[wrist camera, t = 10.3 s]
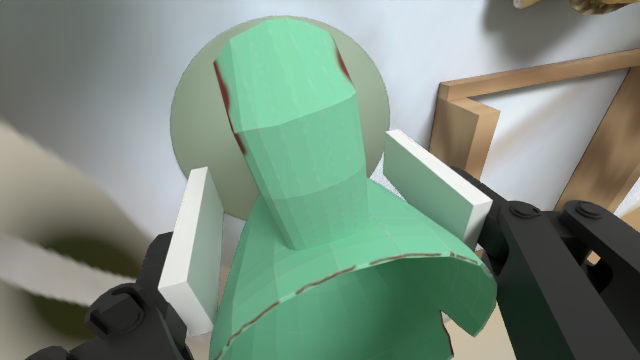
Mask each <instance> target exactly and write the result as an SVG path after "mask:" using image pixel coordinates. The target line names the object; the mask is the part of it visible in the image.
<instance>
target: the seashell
mask: <svg viewBox="0 0 640 360" xmlns="http://www.w3.org/2000/svg"><path fill="white" fill-rule="evenodd" d="M538 1H540V0H513V5H514V6H515V7H516V8H519V9H521V8H525V7H528V6H530V5H532V4H533V3H535V2H538ZM636 2H640V0H571V1H570V4H571V7H572V9H575V10H577V11H578V12H580V13H581V14H582V15H592V14H606V13H609V12H612V11H615V10H617V9H619V8H621V7H624V6H626V5H628V4H631V3H636Z"/></svg>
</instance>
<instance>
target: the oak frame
mask: <svg viewBox="0 0 640 360" xmlns="http://www.w3.org/2000/svg"><path fill="white" fill-rule="evenodd" d="M628 67H631V69H630V71H629V72H628V74H627V76H626V78H625V80H624V82H623V83H622V85H621V87H620V89H619V91H618V93H617V94H616V96H615V98H614V100H613V102H612V104H611V105H610V107H609V109H608V111H607V113H606V115H605V116H604V118H603V120H602V122H601V124H600V126H599V128H598V129H597V131H596V133H595V135H594V137H593V139H592V140H591V142H590V144H589V146H588V148H587V150H586V151H585V153H584V155H583V157H582V159H581V161H580V162H579V164H578V166H577V168H576V170H575V172H574V173H573V175H572V177H571V179H570V181H569V183H568V184H567V186H566V188H565V190H564V192H563V194H562V196H561V197H560V199H559V201H558V203H557V205H556V207H555V208H554V210H553V211H561V209H562V207H563V205H564V204H565V203H566V202H567V201H570V200H583V201H588V202H592V203H594V204H597V205H599V206H601V207H603V208H605V209H607V210H608V211H610V212H611V213H614V212H615V210H616V209H617V207H618V206H619V205H620V203H621V202H622V200H623V199H624V198H625V196H626V195H627V194H628V192H629V191H630V189H631V188H632V187H633V185H634V184H635V182H636V181H637V180H638V178H639V177H640V49H634V50H628V51H622V52H617V53H611V54H605V55H599V56H593V57H587V58H582V59H576V60H570V61H564V62H558V63H552V64H547V65H541V66H535V67H529V68H523V69H517V70H512V71H506V72H500V73H494V74H488V75H482V76H477V77H471V78H465V79H459V80H453V81H447V82H442V83H440V87H439V93H438V99H437V105H436V111H435V117H434V123H433V129H432V135H431V141H430V147H429V153H431V154H432V155H433V156H435V157H436V158H437V159H439V160H440V161H441V162H443V163H444V164H445V165H447V166H448V167H450V166H455V167H457V168H460V169H462V170H465V171H466V172H468V173H469V174H470V175H472V176H473V178H476V179H477V180H480V176H481V173H482V170H483V167H484V164H485V160H486V157H487V154H488V151H489V147H490V144H491V141H492V138H493V134H494V131H495V128H496V125H497V121H498V118H499V115H500V112H501V111H499V110H497V109H494V108H492V107H489V106H486V105H484V104H481V103H479V102H476V101H474V100H471V99H468V98H466V97H471V96H477V95H482V94H487V93H493V92H498V91H504V90H509V89H514V88H520V87H525V86H531V85H536V84H541V83H547V82H552V81H557V80H563V79H568V78H574V77H579V76H584V75H590V74H595V73H601V72H606V71H611V70H617V69H622V68H628ZM483 251H484V249H483V250H479V251H476V252H474V253H475V255H476V256H477V257H478V258H479V259H480V258H481V256H482V253H483Z"/></svg>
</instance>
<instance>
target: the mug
mask: <svg viewBox="0 0 640 360" xmlns="http://www.w3.org/2000/svg"><path fill="white" fill-rule="evenodd" d="M213 65H214V69H215V73H216V76H217V80H218V83H219V87H220V91H221V94H222V98H223V101H224V105H225V109H226V112H227V116H228V120H229V123H230V127H231V130H232V132H233V135H234V137H235V139H236V141H237V143H238V146H239V148H240V150H241V152H242V154H243V156H244V159H245V161H246V163H247V165H248V167H249V170H250V172H251V174H252V176H253V178H254V180H255V183H256V185H257V187H258V189H259V191H260V195H259V197H258V198H257V200H256V202H255V204H254V206H253V208H252V211H251V213H250V215H249V217H248V220H247V222H246V224H245V226H244V229H243V231H242V233H241V237H240V240H239V243H238V246H237V250H236V253H235V256H234V259H233V262H232V266H231V269H230V272H229V276H228V279H227V283H226V286H225V290H224V294H223V297H222V301H221V304H220V307H219V311H218V314H217V318H216V321H215V324H214V327H213V332H212V337H211V343H210V353H209V360H450V359H451V358H453V357H454V353H453V349H452V345H451V340H450V336H449V334H448V332H447V330H446V328H445V326H444V324H443V319H442V313H441V311H442V312H444V313H445V314H446V315H448V316H449V317H450V318H451V319H452V320H453V321H454V322H455V323H456V324H457V325H458V326H459V327H461V328H462V329H464V330H465V331H466V332H467V333H469V334H470V335H471V336H473V337H476V336H477V334H478V333H479V332H480V331H481V330H482V329H483V328H484V326H485V324H486V323H487V321H488V319H489V317H490V316H491V314H492V312H493V310H494V309H495V306H496V297H497V285H498V282H497V281H496V279H495V278H494V276H493V275H492V274H491V272H490V271H489V270H488V268H487V267H486V265H485V264H484V263H483V262H482V261H481V260H480V259H479V258H478V257H477V256H476V255H475V253H474V252H473V251H472V250H471V249H470V248H469V247H468V246H467V245H465V244H464V243H463V242H462V241H461V240H460V239H458V238H457V237H456V236H454V235H453V234H451V233H450V232H448V231H447V230H445V229H444V228H443V227H441V226H440V225H438V224H437V223H436V222H434V221H433V220H431V219H430V218H428V217H427V216H426V215H424V214H423V213H421V212H420V211H419V210H417V209H416V208H414V207H413V206H412V205H410V204H409V203H407V202H406V201H404V200H403V199H401V198H400V197H398V196H397V195H395V194H394V193H392V192H391V191H389V190H388V189H386V188H385V187H384V186H382V185H381V184H379V183H377V182H375V181H373V180H371V179H369V178H367V177H366V161H365V153H364V146H363V139H362V131H361V124H360V117H359V110H358V102H357V95H356V90H355V87H354V85H353V83H352V80H351V78H350V76H349V73H348V71H347V69H346V66H345V64H344V62H343V60H342V57H341V55H340V53H339V50H338V48H337V46H336V43H335V41H334V39H333V37H332V35H331V33H329V32H327V31H325V30H323V29H321V28H319V27H316V26H314V25H311V24H309V23H306V22H302V21H298V20H294V19H290V18H279V19H272V20H266V21H264V22H262V23H260V24H258V25H256V26H254V27H252V28H250V29H248V30H246V31H244V32H242V33H240V34H239V35H237V36H235V37H233V38H231V39H229V41H228V42H227V43H226V45H225V46H224V47H223V49H222V50H221V51H220V53H219V54H218V56H217V57H216V59H215V60H214V62H213Z"/></svg>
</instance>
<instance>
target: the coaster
mask: <svg viewBox="0 0 640 360" xmlns="http://www.w3.org/2000/svg"><path fill="white" fill-rule="evenodd" d="M279 18H290V19H294V20H298V21H302V22H306V23H309V24H311V25H314V26H316V27H319V28H321V29H323V30H325V31H327V32H329V33H331V35H332V37H333V39H334V41H335V43H336V46H337V48H338V50H339V53H340V55H341V57H342V60H343V62H344V64H345V66H346V69H347V71H348V73H349V76H350V78H351V80H352V83H353V85H354V87H355V90H356V95H357V102H358V110H359V117H360V124H361V131H362V139H363V146H364V153H365V161H366V177H367V178H370V176H371V175H372V173H373V172H374V170H375V169H376V167H377V165H378V163H379V161H380V159H381V157H382V154H383V152H384V146H385V132H386V131H389V126H390V107H389V100H388V95H387V91H386V87H385V84H384V82H383V79H382V77H381V75H380V72H379V70H378V69H377V67H376V65H375V64H374V62H373V61H372V59H371V58H370V57H369V56H368V54H367V53H366V52H365V51H364V49H363V48H362V47H361V46H359V45H358V44H357V43H356V42H355V41H354V40H353V39H352V38H350V37H349V36H347V35H346V34H344V33H343V32H341V31H340V30H338V29H336V28H334V27H331V26H329V25H327V24H325V23H323V22H319V21H316V20H312V19H308V18H303V17H295V16H268V17H263V18H257V19H252V20H249V21H247V22H244V23H241V24H238V25H236V26H234V27H232V28H230V29H228V30H226V31H225V32H223V33H221V34H219V35H218V36H217V37H216V38H214V39H213V40H212V41H210V42H209V43H208V44H207V45H206V46H205V47H204V48H203V49H202V50H201V51H200V52H199V53H198V54H197V55H196V56H195V57H194V58H193V60H192V61H191V63H190V64H189V66H188V67H187V69H186V70H185V72H184V73H183V75H182V77H181V79H180V82H179V84H178V86H177V88H176V91H175V95H174V98H173V102H172V107H171V116H170V133H171V140H172V145H173V150H174V153H175V156H176V158H177V161H178V164H179V166H180V167H181V169H182V171H183V173H184V175H185V177H186V178H187V179H189V176H190V172H191V170H193V169H198V168H203V167H208V169H209V172H210V174H211V177H212V180H213V182H214V185H215V187H216V190H217V193H218V195H219V198H220V201H221V203H222V206H223V208H224V212H226V213H228V214H230V215H233V216H235V217H238V218H241V219H244V220H248V217H249V215H250V213H251V211H252V208H253V206H254V204H255V202H256V200H257V198H258V197H259V195H260V191H259V189H258V187H257V185H256V183H255V180H254V178H253V176H252V174H251V172H250V170H249V167H248V165H247V163H246V161H245V159H244V156H243V154H242V152H241V150H240V148H239V146H238V143H237V141H236V139H235V137H234V135H233V132H232V130H231V127H230V123H229V120H228V116H227V112H226V109H225V105H224V101H223V98H222V94H221V91H220V87H219V83H218V80H217V76H216V73H215V69H214V65H213V62H214V60H215V59H216V57H217V56H218V54H219V53H220V51H221V50H222V49H223V47H224V46H225V45H226V43H227V42H228V41H229V39H231V38H233V37H235V36H237V35H239V34H240V33H242V32H244V31H246V30H248V29H250V28H252V27H254V26H256V25H258V24H260V23H262V22H264V21H266V20H272V19H279Z"/></svg>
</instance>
